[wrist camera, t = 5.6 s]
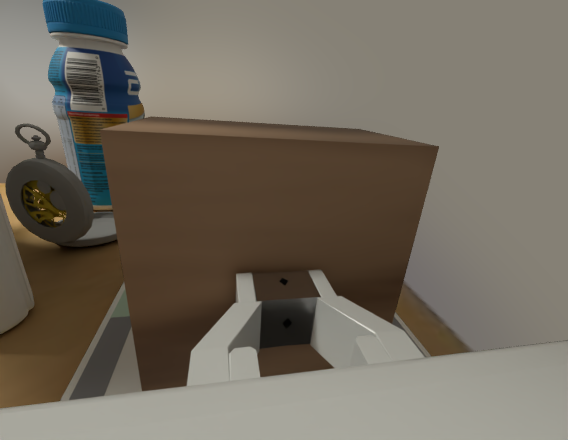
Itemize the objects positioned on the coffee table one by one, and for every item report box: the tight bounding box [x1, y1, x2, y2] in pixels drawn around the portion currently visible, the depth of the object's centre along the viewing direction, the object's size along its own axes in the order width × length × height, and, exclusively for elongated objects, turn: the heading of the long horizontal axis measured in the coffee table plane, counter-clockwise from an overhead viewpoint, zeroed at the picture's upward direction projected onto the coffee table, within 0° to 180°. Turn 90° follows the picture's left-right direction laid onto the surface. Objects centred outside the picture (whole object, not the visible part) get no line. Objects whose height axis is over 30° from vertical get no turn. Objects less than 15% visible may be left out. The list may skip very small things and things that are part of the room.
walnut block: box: [100, 117, 439, 391], centre depth 13 cm, size 6×10×10 cm, turn 101°
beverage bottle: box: [43, 0, 145, 210], centre depth 32 cm, size 8×8×20 cm
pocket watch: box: [6, 124, 117, 247], centre depth 24 cm, size 8×8×10 cm
